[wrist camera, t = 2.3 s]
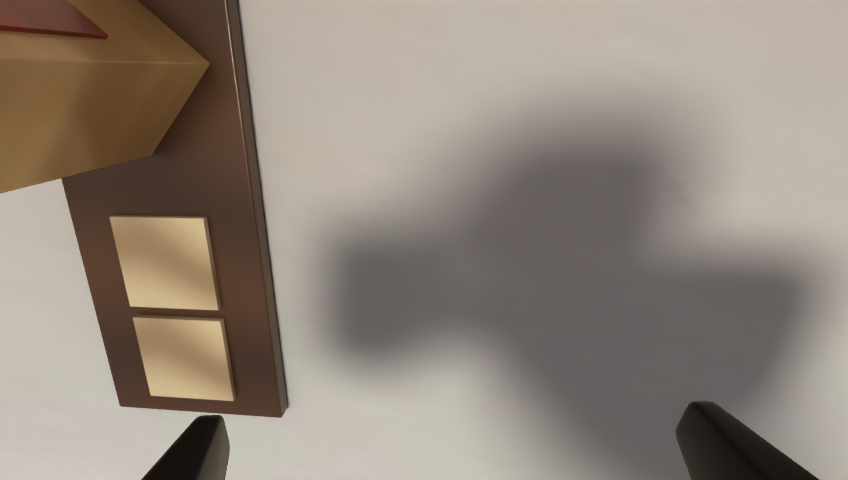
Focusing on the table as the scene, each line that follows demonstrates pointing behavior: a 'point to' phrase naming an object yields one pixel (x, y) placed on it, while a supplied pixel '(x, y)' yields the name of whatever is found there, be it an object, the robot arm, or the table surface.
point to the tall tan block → (86, 86)
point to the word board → (187, 244)
